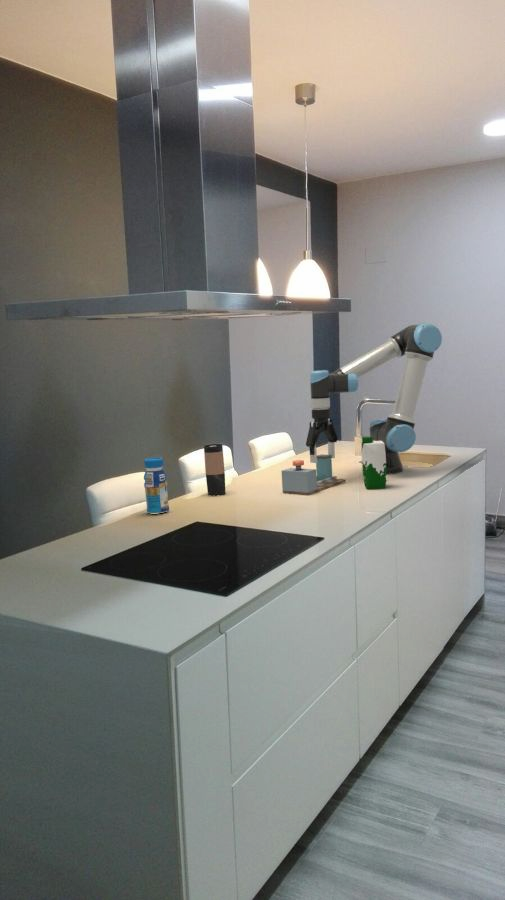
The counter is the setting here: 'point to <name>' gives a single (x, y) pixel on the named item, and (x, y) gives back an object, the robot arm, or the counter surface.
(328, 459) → the carriage
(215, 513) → the counter surface
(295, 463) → the button
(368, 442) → the milk carton
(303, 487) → the cabinet
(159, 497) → the beverage bottle
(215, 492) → the travel mug
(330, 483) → the rail track
